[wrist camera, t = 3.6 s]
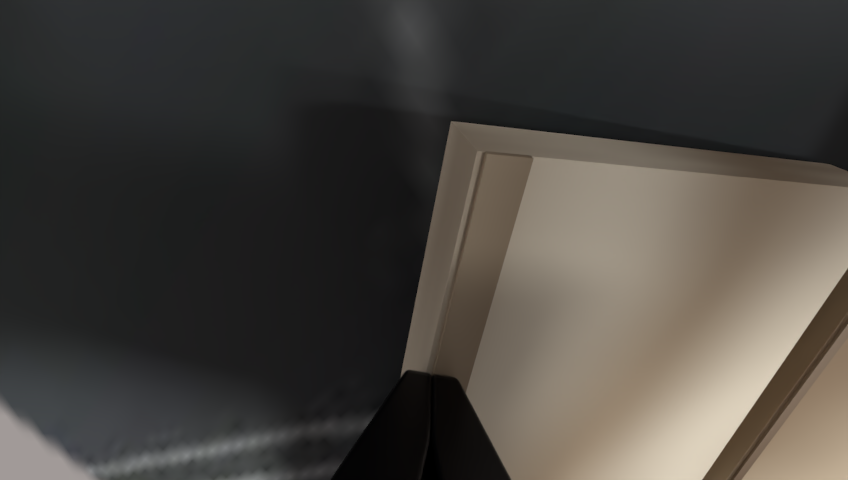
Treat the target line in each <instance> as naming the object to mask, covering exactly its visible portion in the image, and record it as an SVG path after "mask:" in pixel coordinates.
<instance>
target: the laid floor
mask: <svg viewBox="0 0 848 480" xmlns="http://www.w3.org/2000/svg"><path fill="white" fill-rule="evenodd" d="M702 480H848V269H847V270H846V272H845V273H844V274H843V276H842V277H841V279H840V280H839V282H838V283H837V285H836V286H835V288H834V289H833V290H832V292H831V293H830V295H829V296H828V298H827V299H826V301H825V302H824V303H823V305H822V306H821V308H820V309H819V311H818V312H817V314H816V315H815V317H814V318H813V319H812V321H811V322H810V324H809V325H808V327H807V328H806V330H805V331H804V333H803V334H802V335H801V337H800V338H799V340H798V341H797V343H796V344H795V346H794V347H793V349H792V350H791V351H790V353H789V354H788V356H787V357H786V359H785V360H784V362H783V363H782V365H781V366H780V367H779V369H778V370H777V372H776V373H775V375H774V376H773V378H772V379H771V380H770V382H769V383H768V385H767V386H766V388H765V389H764V391H763V392H762V394H761V395H760V396H759V398H758V399H757V401H756V402H755V404H754V405H753V407H752V408H751V410H750V411H749V412H748V414H747V415H746V417H745V418H744V420H743V421H742V423H741V424H740V426H739V427H738V428H737V430H736V431H735V433H734V434H733V436H732V437H731V439H730V440H729V442H728V443H727V444H726V446H725V447H724V449H723V450H722V452H721V453H720V455H719V456H718V458H717V459H716V460H715V462H714V463H713V465H712V466H711V468H710V469H709V471H708V472H707V473H706V475H705V476H704V478H703V479H702Z"/></svg>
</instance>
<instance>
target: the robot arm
mask: <svg viewBox="0 0 848 480" xmlns="http://www.w3.org/2000/svg"><path fill="white" fill-rule="evenodd" d="M331 480H511V478H510V476H509V474H508V472H507V470H506V468H505V467H504V465H503V463H502V461H501V459H500V457H499V455H498V453H497V451H496V450H495V448H494V446H493V444H492V442H491V440H490V438H489V436H488V434H487V433H486V431H485V429H484V427H483V425H482V423H481V421H480V419H479V417H478V416H477V414H476V412H475V410H474V408H473V406H472V404H471V402H470V400H469V399H468V397H467V395H466V393H465V391H464V389H463V387H462V385H461V383H460V382H459V380H458V379H457V378H455V377H451V376H445V375H438V374H435V375H432V376H431V374H430V373H427V372H421V371H415V370H406V371H405V372H404V373H403V375H402V376H401V378H400V379H399V381H398V382H397V384H396V385H395V387H394V388H393V389H392V391H391V392H390V394H389V395H388V397H387V398H386V400H385V401H384V403H383V404H382V405H381V407H380V408H379V410H378V411H377V413H376V414H375V416H374V417H373V419H372V420H371V421H370V423H369V424H368V426H367V427H366V429H365V430H364V432H363V433H362V435H361V436H360V437H359V439H358V440H357V442H356V443H355V445H354V446H353V448H352V449H351V451H350V452H349V453H348V455H347V456H346V458H345V459H344V461H343V462H342V464H341V465H340V467H339V468H338V470H337V471H336V472H335V474H334V475H333V477H332V478H331Z"/></svg>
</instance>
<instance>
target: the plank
mask: <svg viewBox="0 0 848 480" xmlns="http://www.w3.org/2000/svg"><path fill="white" fill-rule="evenodd" d="M847 269H848V171H846V170H843V169H841V168H838V167H836V166H833V165H831V164H825V163H816V162H807V161H799V160H790V159H781V158H772V157H763V156H755V155H746V154H737V153H728V152H719V151H711V150H702V149H693V148H684V147H675V146H667V145H658V144H649V143H640V142H631V141H623V140H614V139H605V138H596V137H587V136H579V135H570V134H561V133H552V132H543V131H535V130H526V129H517V128H508V127H499V126H491V125H482V124H473V123H464V122H455V121H451V124H450V129H449V134H448V139H447V144H446V149H445V154H444V159H443V164H442V169H441V174H440V179H439V184H438V189H437V194H436V200H435V205H434V210H433V215H432V220H431V225H430V230H429V235H428V240H427V245H426V250H425V255H424V260H423V265H422V270H421V275H420V280H419V285H418V290H417V296H416V301H415V306H414V311H413V316H412V321H411V326H410V331H409V336H408V341H407V346H406V351H405V356H404V361H403V366H402V371H401V376H402V375H403V373H404V372H405V371H406V370H415V371H421V372H427V373H430V374H431V376H432V375H435V374H438V375H445V376H451V377H455V378H457V379H458V380H459V382H460V383H461V385H462V387H463V389H464V391H465V393H466V395H467V397H468V399H469V400H470V402H471V404H472V406H473V408H474V410H475V412H476V414H477V416H478V417H479V419H480V421H481V423H482V425H483V427H484V429H485V431H486V433H487V434H488V436H489V438H490V440H491V442H492V444H493V446H494V448H495V450H496V451H497V453H498V455H499V457H500V459H501V461H502V463H503V465H504V467H505V468H506V470H507V472H508V474H509V476H510V478H511V480H702V479H703V478H704V476H705V475H706V473H707V472H708V471H709V469H710V468H711V466H712V465H713V463H714V462H715V460H716V459H717V458H718V456H719V455H720V453H721V452H722V450H723V449H724V447H725V446H726V444H727V443H728V442H729V440H730V439H731V437H732V436H733V434H734V433H735V431H736V430H737V428H738V427H739V426H740V424H741V423H742V421H743V420H744V418H745V417H746V415H747V414H748V412H749V411H750V410H751V408H752V407H753V405H754V404H755V402H756V401H757V399H758V398H759V396H760V395H761V394H762V392H763V391H764V389H765V388H766V386H767V385H768V383H769V382H770V380H771V379H772V378H773V376H774V375H775V373H776V372H777V370H778V369H779V367H780V366H781V365H782V363H783V362H784V360H785V359H786V357H787V356H788V354H789V353H790V351H791V350H792V349H793V347H794V346H795V344H796V343H797V341H798V340H799V338H800V337H801V335H802V334H803V333H804V331H805V330H806V328H807V327H808V325H809V324H810V322H811V321H812V319H813V318H814V317H815V315H816V314H817V312H818V311H819V309H820V308H821V306H822V305H823V303H824V302H825V301H826V299H827V298H828V296H829V295H830V293H831V292H832V290H833V289H834V288H835V286H836V285H837V283H838V282H839V280H840V279H841V277H842V276H843V274H844V273H845V272H846V270H847ZM401 376H400V378H401Z"/></svg>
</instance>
